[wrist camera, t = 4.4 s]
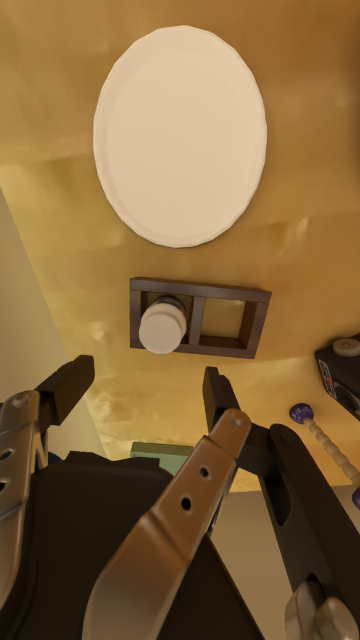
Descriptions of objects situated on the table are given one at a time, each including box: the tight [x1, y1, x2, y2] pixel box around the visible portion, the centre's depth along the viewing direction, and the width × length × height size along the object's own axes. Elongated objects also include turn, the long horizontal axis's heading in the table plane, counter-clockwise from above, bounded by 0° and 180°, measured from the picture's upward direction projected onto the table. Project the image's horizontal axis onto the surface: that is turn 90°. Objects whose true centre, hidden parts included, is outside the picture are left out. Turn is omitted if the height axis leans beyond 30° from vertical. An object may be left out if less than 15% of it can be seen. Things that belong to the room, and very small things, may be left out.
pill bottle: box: [139, 295, 186, 354], centre depth 23 cm, size 6×6×10 cm
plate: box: [93, 25, 267, 248], centre depth 21 cm, size 21×21×1 cm
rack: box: [130, 277, 272, 359], centre depth 26 cm, size 10×19×4 cm, turn 85°
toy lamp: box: [290, 404, 360, 510], centre depth 25 cm, size 5×5×17 cm
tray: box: [131, 442, 193, 476], centre depth 38 cm, size 13×12×2 cm
